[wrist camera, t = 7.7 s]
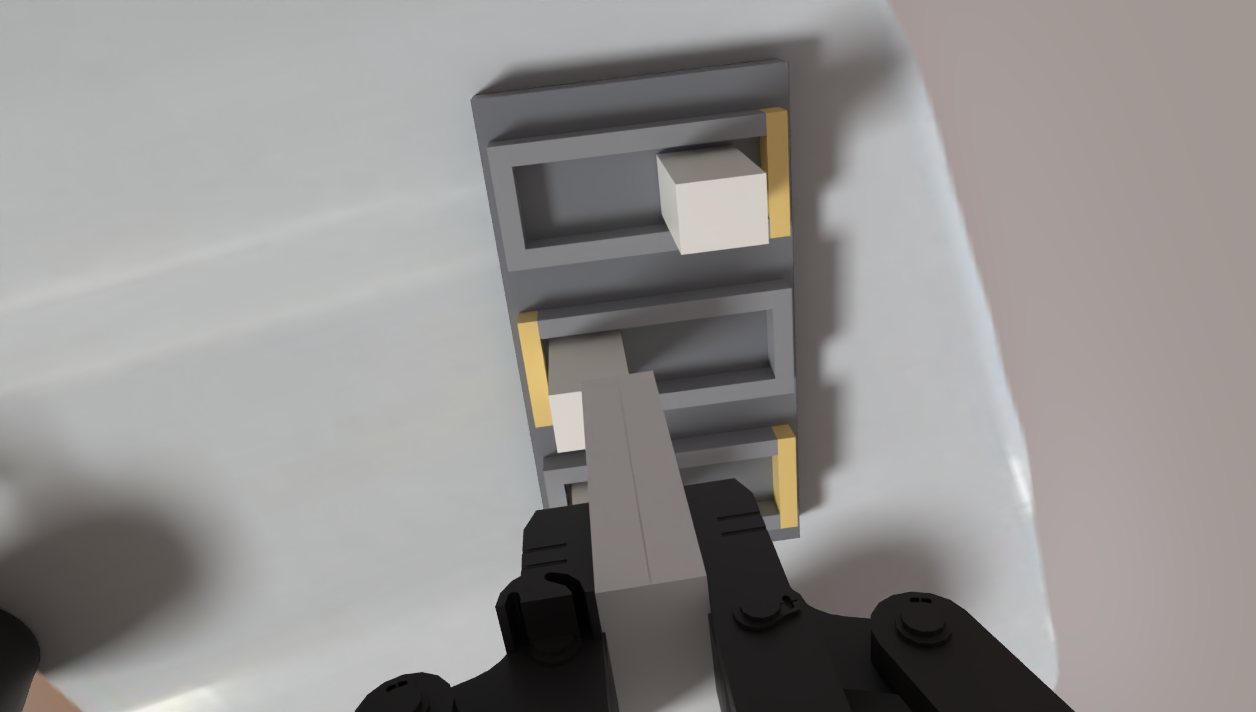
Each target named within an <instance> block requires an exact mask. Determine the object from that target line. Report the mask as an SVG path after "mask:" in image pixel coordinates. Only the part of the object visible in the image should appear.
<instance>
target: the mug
mask: <svg viewBox="0 0 1256 712" xmlns="http://www.w3.org/2000/svg"><path fill="white" fill-rule="evenodd" d="M39 661H40V650H39V646H38V643H37V640H36V638H35V637H34V635H33V634H32V632H31V631H30V630H29V629H28V628H27V627H26V626H25V625H24V624H23V623H22V622H21V621H20V620H18V619H17V618H15V617H14V616H12V615H10V614H9V613H6V612H4V611H2V610H0V712H22V710H23V707H24V704H25V701H26V698H27V695H28V692H29V688H30V685H31V682H32V679H33V677H34V675H35V673H36V671H37V668H38V665H39Z"/></svg>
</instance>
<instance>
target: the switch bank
mask: <svg viewBox="0 0 1256 712" xmlns="http://www.w3.org/2000/svg"><path fill="white" fill-rule="evenodd" d="M471 105H472V111H473V117H474V122H475V128H476V133H477V139H478V145H479V150H480V156H481V161H482V167H483V173H484V178H485V184H486V189H487V195H488V200H489V206H490V212H491V217H492V223H493V228H494V234H495V240H496V245H497V251H498V256H499V262H500V268H501V273H502V279H503V284H504V290H505V296H506V301H507V307H508V312H509V318H510V324H511V329H512V335H513V340H514V346H515V352H516V357H517V363H518V368H519V374H520V380H521V385H522V391H523V396H524V402H525V408H526V413H527V419H528V424H529V430H530V436H531V441H532V447H533V452H534V458H535V463H536V469H537V475H538V480H539V486H540V491H541V497H542V503H543V508H544V509H549V508H556V507H562V506H569V505H572V483H577V482H585V481H587V466H586V451H585V449H583V450H576V451H568V452H561V453H558V452H557V446H556V440H555V434H554V428H553V422H552V415H551V409H550V403H549V397H548V375H549V338H554V337H562V336H570V335H577V334H585V333H593V332H600V331H608V330H616V329H620V332H621V337H622V342H623V347H624V352H625V357H626V362H627V367H628V372H629V374H633V373H639V372H646V371H653V373H654V377H655V381H656V385H657V388H658V392H659V396H660V400H661V404H662V407H663V411H664V415H665V419H666V423H667V426H668V430H669V434H670V438H671V442H672V446H673V449H674V453H675V457H676V461H677V465H678V468H679V472H680V476H681V480H682V484H683V486H686V485H692V484H699V483H705V482H712V481H718V480H725V479H731V478H735V479H736V480H738V481H739V482H740V483H741V484H743V485H744V486H745V487H746V488H748V489H749V490H750V491H751V492H753V495H754V497H755V500H756V502H757V505H758V507H759V510H760V514H761V515H762V517H763V520H764V522H765V525H766V529H767V530H768V533H769V535H770V538H771V540H772V541H779V540H786V539H793V538H800V526H799V484H798V442H797V401H796V359H795V317H794V275H793V233H792V191H791V149H790V107H789V65H788V61H784V60H781V59H772V60H764V61H756V62H747V63H739V64H731V65H722V66H714V67H706V68H697V69H689V70H681V71H673V72H664V73H656V74H648V75H639V76H631V77H623V78H614V79H606V80H598V81H590V82H581V83H573V84H565V85H556V86H548V87H540V88H531V89H523V90H515V91H507V92H498V93H490V94H482V95H474V96H473V97H472V99H471ZM727 145H734V146H735V147H736V148H737V149H738V150H739V151H741V152H742V153H743V154H744V155H745V156H747V157H748V158H749V159H750V160H751V161H752V162H754V163H755V164H756V165H757V166H758V167H760V168H761V169H762V170H763V171H764V172H765V173H766V181H767V208H768V236H769V244H762V245H755V246H747V247H739V248H731V249H723V250H716V251H708V252H700V253H692V254H684V255H681V253H680V251H679V249H678V247H677V245H676V243H675V241H674V239H673V237H672V235H671V233H670V231H669V229H668V227H667V224H666V222H665V220H664V218H663V216H662V212H661V201H660V190H659V179H658V168H657V157H656V154H662V153H670V152H678V151H687V150H695V149H703V148H711V147H719V146H727Z"/></svg>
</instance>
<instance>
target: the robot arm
mask: <svg viewBox="0 0 1256 712" xmlns="http://www.w3.org/2000/svg"><path fill="white" fill-rule="evenodd" d="M581 391H582V406H583V421H584V436H585V451H586V466H587V481H588V495H589V502H588V503H582V504H575V505H569V506H562V507H556V508H549V509H543V510H536V512H535V513H534V515H533V516H532V518H531V520H530V521H529V523H528V524H527V526H526V527H525V529H524V533H523V549H522V550H523V554H522V570H521V576H520V577H518V578H516V579H515V580H513V581H511V582H510V583H509V584H508V586H507V587H506V588H505V589H504V590H503V591H502V592H501V593H500V595H499V598H498V601H497V603H496V606H495V608H496V612H497V616H498V620H499V624H500V628H501V632H502V636H503V640H504V644H505V648H506V652H507V654H506V656H505V657H504V658H503V659H502V660H501V661H500V662H499V663H497V664H496V665H495V666H494V667H492V668H491V669H490V670H488V671H486V672H484V673H482V674H480V675H479V676H477V677H475V678H472V679H470V680H468V681H465V682H463V683H461V684H458V685H456V686H453V687H450V684H449V683H447V682H446V681H445V680H443V679H442V678H441V677H440V676H438V675H433V674H429V673H424V672H420V673H412V674H404V675H401V676H399V677H396V678H394V679H391V680H389V681H387V682H384V683H383V684H381V685H380V686H379V687H377V688H376V689H375V690H373V691H372V692H371V693H369V694H368V695H367V696H366V697H365V699H364V700H363V701H362V702H361V704H360V705H359V706H358V707H357V709H356V710H355V712H1074V710H1072V709H1071V708H1070V707H1069V706H1068V705H1067V704H1066V703H1065V702H1064V701H1063V700H1062V699H1061V698H1059V697H1058V696H1057V695H1056V694H1055V693H1054V692H1053V691H1052V690H1051V689H1050V688H1049V687H1048V686H1047V685H1046V684H1044V683H1043V682H1042V681H1041V680H1040V679H1039V678H1038V677H1037V676H1036V675H1035V674H1034V673H1033V672H1032V671H1030V670H1029V669H1028V668H1027V667H1026V666H1025V665H1024V664H1023V663H1022V662H1021V661H1020V660H1019V659H1018V658H1016V657H1015V656H1014V655H1013V654H1012V653H1011V652H1010V651H1009V650H1008V649H1007V648H1006V647H1005V646H1004V645H1003V644H1001V643H1000V642H999V641H998V640H997V639H996V638H995V637H994V636H993V635H992V634H991V633H990V632H989V631H987V630H986V629H985V628H984V627H983V626H982V625H981V624H980V623H979V622H978V621H977V620H976V619H975V618H973V617H972V616H971V615H970V614H969V613H968V612H967V611H966V610H964V609H963V608H961V607H960V606H958V605H957V604H955V603H954V602H952V601H951V600H949V599H946V598H943V597H940V596H937V595H934V594H931V593H919V592H907V593H902V594H896V595H892V596H890V597H889V598H887V599H885V600H883V601H882V602H880V603H878V605H877V606H876V608H875V610H874V611H873V613H872V614H871V619H868V618H856V617H845V616H839V615H833V614H828V613H825V612H822V611H820V610H817V609H814V608H813V607H811V606H809V605H808V604H807V603H806V602H805V601H804V599H803V598H802V597H801V595H800V594H799V593H797V592H795V591H794V590H792V588H791V587H790V585H789V583H788V580H787V578H786V575H785V573H784V570H783V568H782V565H781V563H780V560H779V558H778V555H777V553H776V550H775V548H774V545H773V543H772V540H771V538H770V535H769V533H768V530H767V529H766V525H765V522H764V520H763V517H762V515H761V514H760V510H759V507H758V505H757V502H756V500H755V497H754V495H753V492H751V491H750V490H749V489H748V488H746V487H745V486H744V485H743V484H741V483H740V482H739V481H738V480H736V479H735V478H731V479H725V480H718V481H712V482H705V483H699V484H692V485H686V486H683V484H682V480H681V476H680V472H679V468H678V465H677V461H676V457H675V453H674V449H673V446H672V442H671V438H670V434H669V430H668V426H667V423H666V419H665V415H664V411H663V407H662V404H661V400H660V396H659V392H658V388H657V385H656V381H655V377H654V373H653V371H646V372H639V373H633V374H626V375H619V376H613V377H606V378H600V379H593V380H586V381H581Z"/></svg>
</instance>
